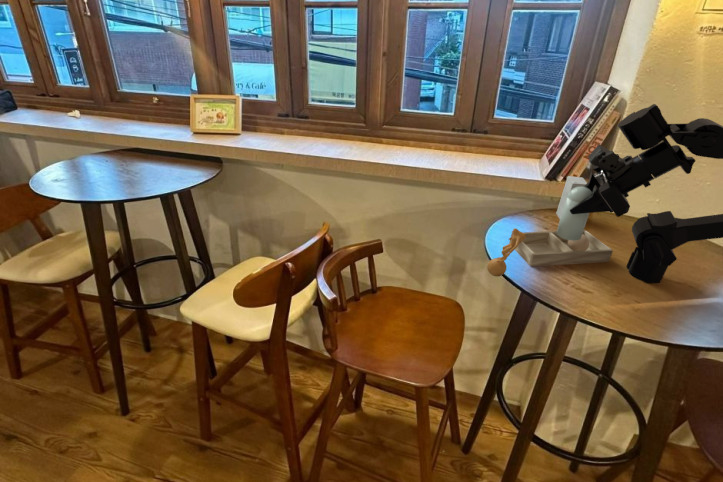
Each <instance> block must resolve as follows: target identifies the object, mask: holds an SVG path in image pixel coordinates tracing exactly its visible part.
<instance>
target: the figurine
mask: <svg viewBox="0 0 723 482" xmlns="http://www.w3.org/2000/svg"><path fill="white" fill-rule="evenodd" d="M512 233H513V236H512V237H511V236H510V237H509V238H508V241H510V239H512V240H511V243H509V242H508V243H507V244H506V245H504V246H503V247H502V250H501V255H502V256H498V257H497V258H496V257H495V258H492V259H490V260H489V261H488V263H487V265H486V267H487V271H488V273H489V275H491V276H493V277H501V276H503V275H504V274H506V271H507V264H506V262H505V261H506V260H507V259H508V258H509V256H510V254H512V253H513V252H514V251H515V249H516V248H517V247H518V245H519V244H520V243H521V242H523V241H524V239H525V238H526V235H525V233H524V232H523V231H520V230H518V228H513V229H512V230H511V234H512Z"/></svg>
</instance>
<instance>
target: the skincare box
mask: <svg viewBox="0 0 723 482" xmlns="http://www.w3.org/2000/svg"><path fill="white" fill-rule="evenodd" d="M587 183H588V181H586V179H585V178H584V177H581V176H572V175H568V176H566V180H565V184H564V188H563V190H562V193H561V197H560V200H559V203H558V207H557V210H556V212H555V215H557V218H558V219H559V220H560V218H561V215H562V211H563V208H564V205H565V201H566V198H567V195H568V193H569V192H570V191H571V190H572V189H573V188H576V187H584V186H585V185H586V184H587Z"/></svg>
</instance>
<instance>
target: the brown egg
mask: <svg viewBox="0 0 723 482" xmlns="http://www.w3.org/2000/svg"><path fill="white" fill-rule="evenodd" d="M568 247H569V248H570V249H571V250H573V251H586V250H587V249H588V247H589V239H588V238H587V237H586V236H585V235H583V234H582V237H581V239H580V240H576V241H572V240H568Z"/></svg>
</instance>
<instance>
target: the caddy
mask: <svg viewBox="0 0 723 482" xmlns="http://www.w3.org/2000/svg"><path fill="white" fill-rule="evenodd" d="M556 232H557V230H554V231H553V230H551V231H549V230H547V231H529V232H527V231H526V232H523V233H525V235H526V238H525V239H524V241H523V242H521V243H520V244H519V245H518V247H517V248H516V249H515V250H514V251H515V252H516V253H517V254H518V255H519V256H520V257H521V258H522V260H524V262H525V263H526V264H527V265H528V266H529V267H541V266H545V267H546V266H560V265H563V266H564V265H574V264H575V265H578V264H579V265H580V264H593V263H609V262H610V259H611V257H612V254H613V252H614V250H613V249H612V248H611V247H609V246H608V245H606V244H605V243H603V242H602V241H601V240H599V238H597V237H596V236H594V235H593V234H592V233H590V232H589V231H587V230H586V229H584V231H583V235H585V236H586V237H587V238H588V239H589V247H588V249H587V250H586V251H573V250H571V249H570V248H569V247H568V240H567V239H563V238H561V237H559V236H558V235H557V234H556ZM512 236H513V233H512V232H511V235H510V238H511V237H512ZM511 240H512V239H510V240H509V242H508V244H509V243H511Z"/></svg>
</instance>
